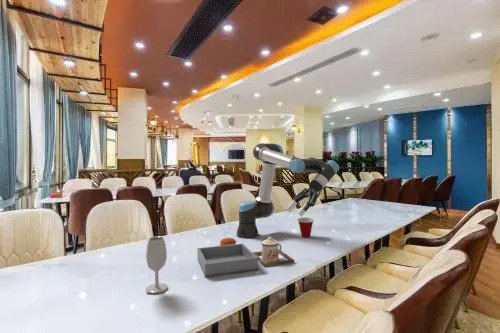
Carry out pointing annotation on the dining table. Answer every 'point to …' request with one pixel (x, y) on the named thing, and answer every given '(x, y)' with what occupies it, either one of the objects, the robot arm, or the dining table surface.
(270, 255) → the teacup with lid
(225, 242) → the hamburger
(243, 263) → the bus tub
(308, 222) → the plastic cup
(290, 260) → the brown wooden frame
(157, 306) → the dining table surface
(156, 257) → the wineglass
